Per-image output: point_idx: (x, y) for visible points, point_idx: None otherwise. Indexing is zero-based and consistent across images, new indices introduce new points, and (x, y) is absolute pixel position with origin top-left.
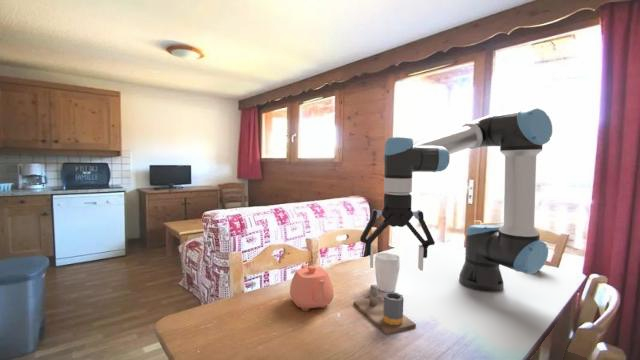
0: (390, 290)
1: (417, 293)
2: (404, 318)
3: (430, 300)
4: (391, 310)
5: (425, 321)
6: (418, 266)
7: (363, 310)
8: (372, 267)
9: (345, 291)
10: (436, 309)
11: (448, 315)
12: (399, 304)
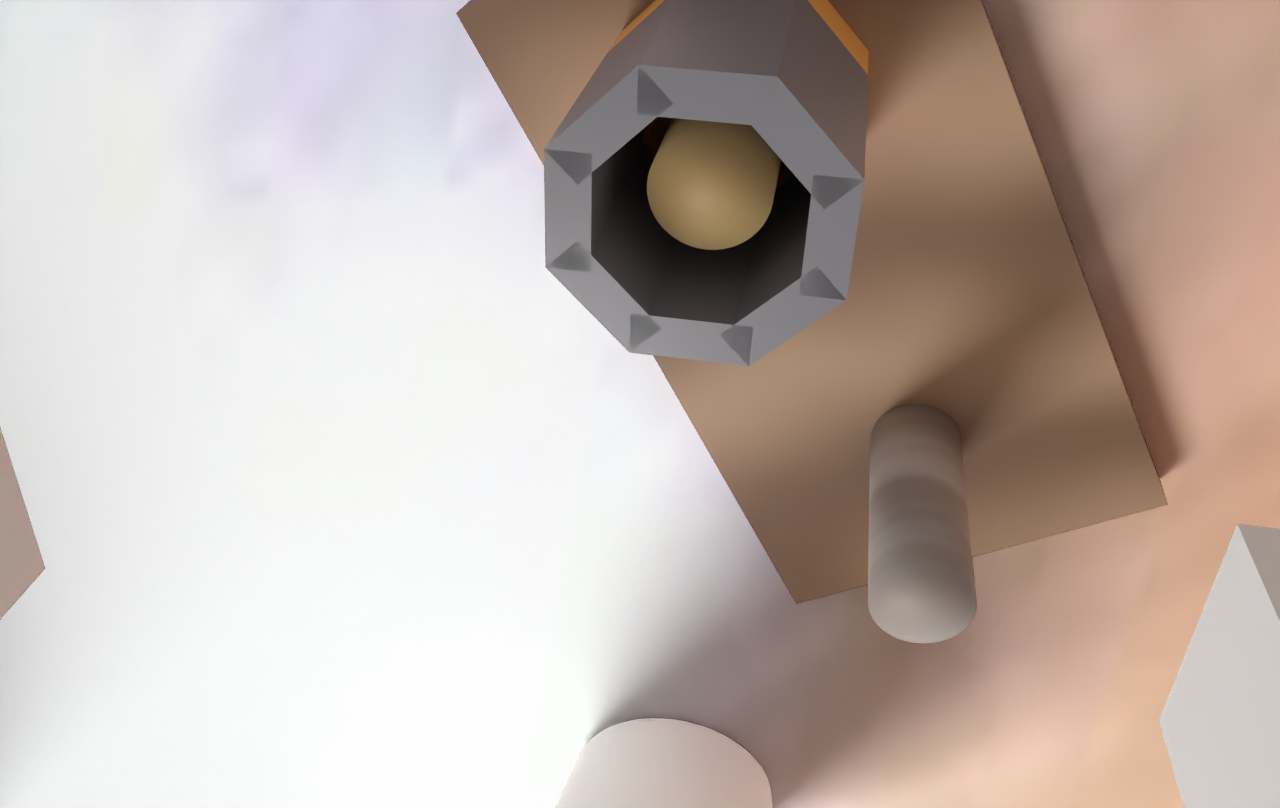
0: (638, 729)
1: (362, 688)
2: None
3: (247, 566)
4: (773, 20)
5: (340, 154)
6: (22, 557)
7: (1089, 298)
8: (1259, 533)
9: None
10: (202, 403)
11: (90, 293)
12: (634, 55)
